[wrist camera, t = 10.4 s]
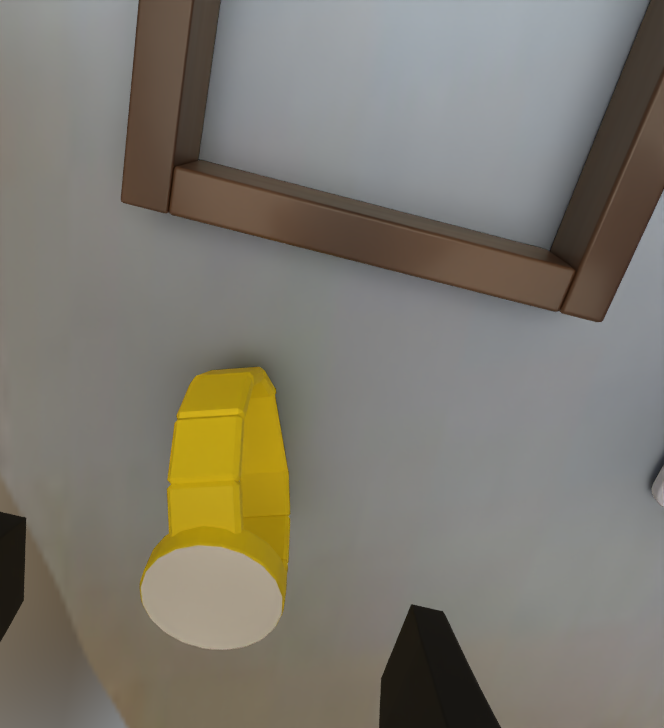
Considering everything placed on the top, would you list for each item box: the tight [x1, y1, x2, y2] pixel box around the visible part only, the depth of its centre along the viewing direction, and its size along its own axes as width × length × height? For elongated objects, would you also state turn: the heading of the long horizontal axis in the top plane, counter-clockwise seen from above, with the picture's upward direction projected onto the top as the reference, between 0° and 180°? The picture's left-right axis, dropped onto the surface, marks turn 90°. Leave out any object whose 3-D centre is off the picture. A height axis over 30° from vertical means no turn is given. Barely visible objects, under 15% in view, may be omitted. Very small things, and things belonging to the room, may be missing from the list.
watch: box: [140, 367, 290, 650], centre depth 13 cm, size 6×3×6 cm, turn 6°
